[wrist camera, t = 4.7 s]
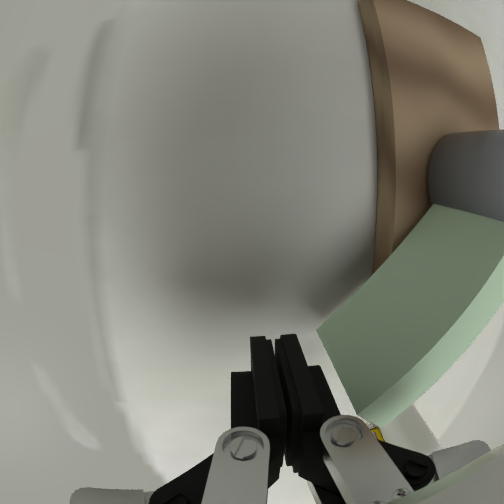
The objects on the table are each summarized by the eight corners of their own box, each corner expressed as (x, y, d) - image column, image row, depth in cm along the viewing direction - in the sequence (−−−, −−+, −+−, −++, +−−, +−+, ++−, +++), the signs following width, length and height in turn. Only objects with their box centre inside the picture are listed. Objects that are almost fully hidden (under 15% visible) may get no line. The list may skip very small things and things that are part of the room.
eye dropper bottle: (422, 386, 19) (487, 476, 8) (396, 426, 21) (443, 512, 9) (386, 391, 19) (449, 500, 7) (361, 432, 20) (403, 531, 9)
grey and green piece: (459, 113, 11) (551, 104, 4) (498, 189, 12) (577, 208, 6) (289, 306, 13) (330, 412, 7) (356, 362, 15) (406, 450, 8)
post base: (357, 2, 11) (370, -14, 9) (464, 43, 11) (481, 37, 9) (359, 355, 17) (370, 374, 15) (457, 331, 18) (472, 344, 16)
